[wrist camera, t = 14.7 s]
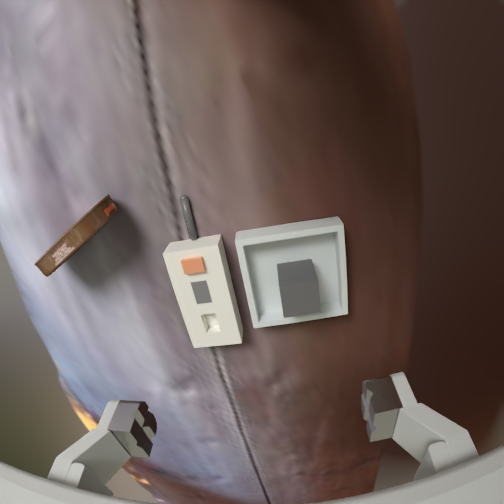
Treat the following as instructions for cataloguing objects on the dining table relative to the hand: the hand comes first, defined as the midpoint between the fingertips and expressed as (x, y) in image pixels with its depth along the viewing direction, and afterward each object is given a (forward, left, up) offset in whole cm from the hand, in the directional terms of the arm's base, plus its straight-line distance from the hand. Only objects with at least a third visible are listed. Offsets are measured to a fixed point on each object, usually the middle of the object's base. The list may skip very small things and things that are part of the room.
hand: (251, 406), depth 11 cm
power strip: (+9, -9, -31) cm, 34 cm away
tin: (0, -24, -31) cm, 40 cm away
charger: (+11, +3, -31) cm, 33 cm away
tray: (+11, +3, -31) cm, 33 cm away
